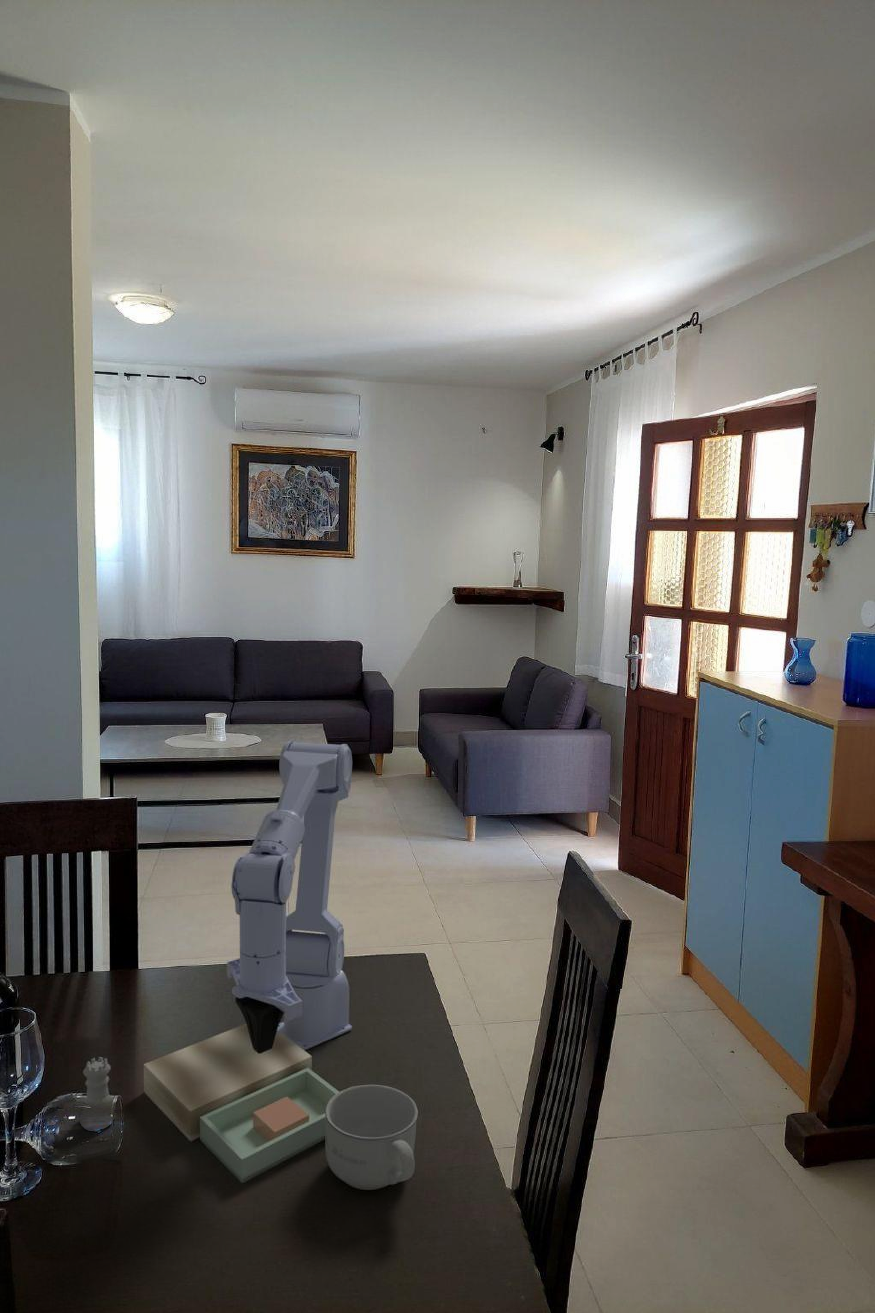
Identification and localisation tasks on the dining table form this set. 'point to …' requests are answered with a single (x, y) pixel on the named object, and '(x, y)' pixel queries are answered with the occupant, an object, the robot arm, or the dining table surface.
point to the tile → (279, 1118)
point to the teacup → (371, 1136)
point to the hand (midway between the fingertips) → (263, 1049)
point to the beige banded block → (217, 1075)
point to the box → (245, 1146)
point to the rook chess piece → (97, 1079)
